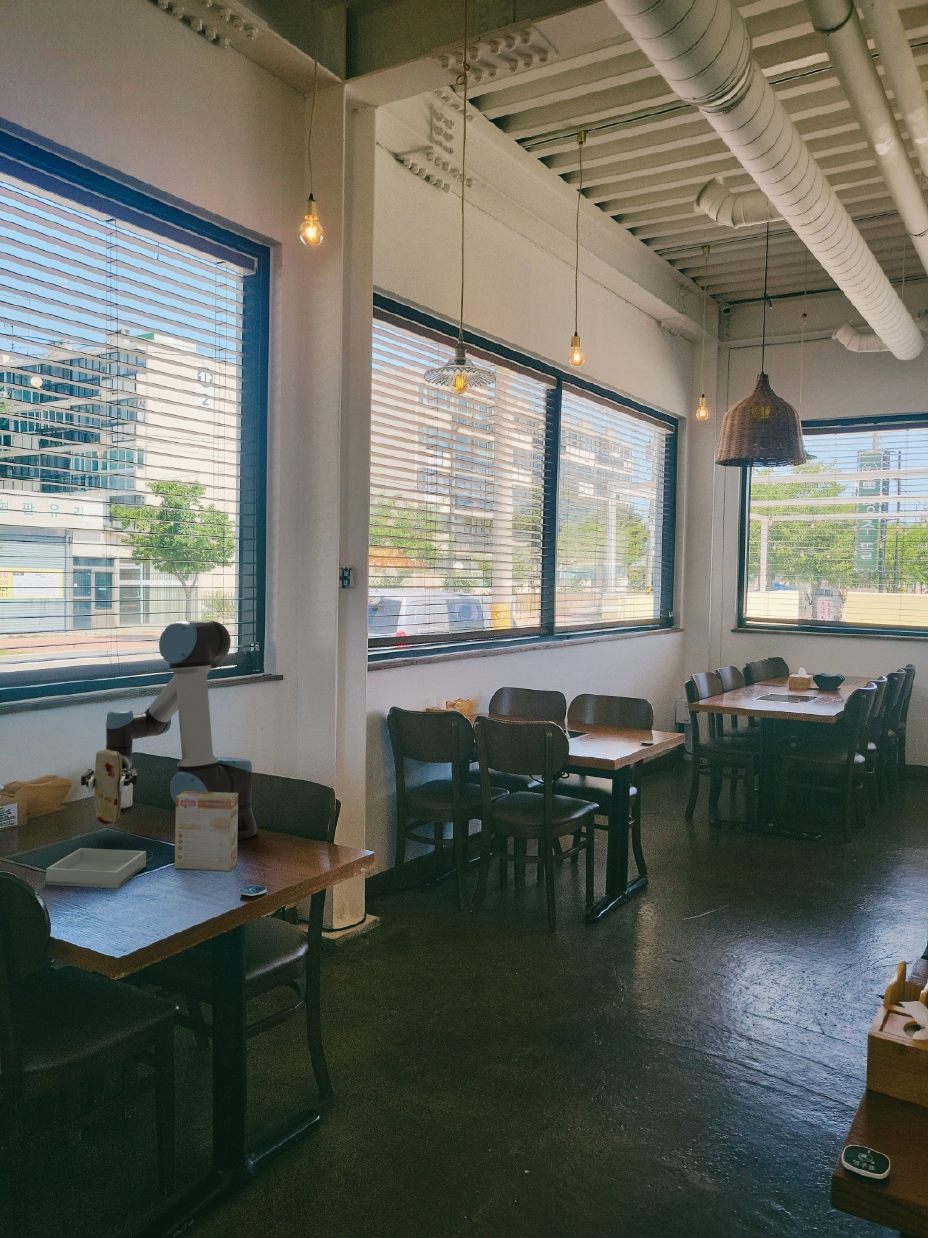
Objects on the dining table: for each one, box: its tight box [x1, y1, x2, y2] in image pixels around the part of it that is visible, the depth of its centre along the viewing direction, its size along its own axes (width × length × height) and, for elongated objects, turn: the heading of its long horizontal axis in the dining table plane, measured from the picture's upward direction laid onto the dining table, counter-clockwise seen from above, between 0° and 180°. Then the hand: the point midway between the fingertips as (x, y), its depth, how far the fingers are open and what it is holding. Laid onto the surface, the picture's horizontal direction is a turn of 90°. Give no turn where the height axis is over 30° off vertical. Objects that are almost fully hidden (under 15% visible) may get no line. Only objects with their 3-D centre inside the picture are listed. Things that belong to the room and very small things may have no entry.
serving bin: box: [45, 847, 147, 889], centre depth 240 cm, size 18×18×4 cm
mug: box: [121, 783, 134, 809], centre depth 309 cm, size 12×8×10 cm
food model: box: [93, 749, 122, 825], centre depth 256 cm, size 10×7×20 cm
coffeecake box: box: [174, 791, 238, 872], centre depth 250 cm, size 15×7×20 cm, turn 86°
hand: (105, 786), depth 251 cm, fingers closed on food model, 7 cm apart
